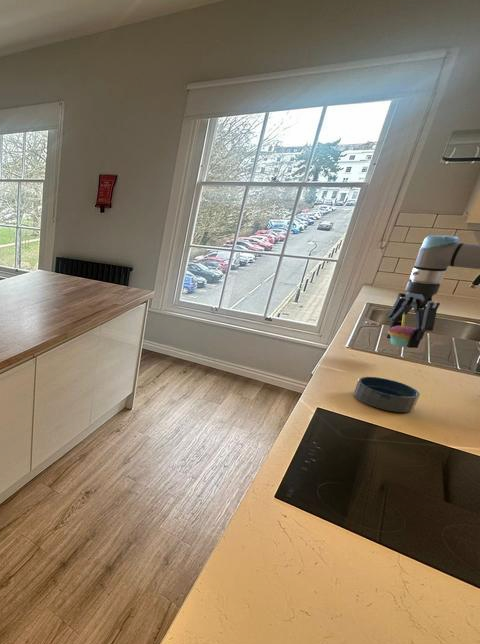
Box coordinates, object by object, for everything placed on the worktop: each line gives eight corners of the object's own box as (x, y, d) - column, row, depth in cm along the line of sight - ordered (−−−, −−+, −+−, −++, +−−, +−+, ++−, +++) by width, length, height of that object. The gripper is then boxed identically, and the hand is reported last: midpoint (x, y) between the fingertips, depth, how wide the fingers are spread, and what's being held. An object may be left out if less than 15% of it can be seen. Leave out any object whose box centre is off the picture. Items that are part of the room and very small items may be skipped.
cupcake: (382, 344, 145) (394, 313, 141) (384, 338, 150) (395, 308, 146) (417, 351, 139) (430, 318, 135) (418, 344, 144) (430, 313, 140)
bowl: (425, 415, 116) (432, 399, 114) (372, 411, 118) (379, 395, 116) (389, 393, 128) (396, 378, 126) (342, 390, 130) (348, 375, 128)
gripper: (387, 275, 147) (367, 332, 155) (439, 288, 127) (413, 353, 135) (411, 275, 146) (390, 333, 153) (467, 289, 126) (440, 354, 134)
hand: (401, 342), depth 144 cm, fingers closed on cupcake, 8 cm apart
